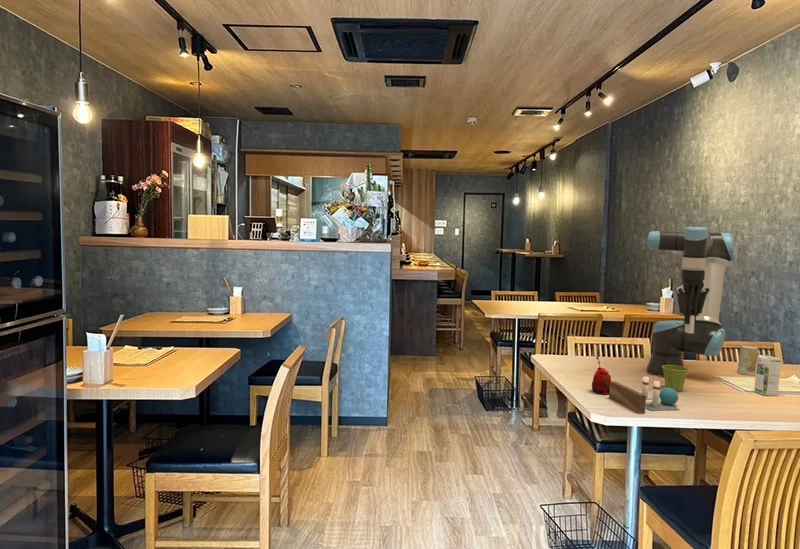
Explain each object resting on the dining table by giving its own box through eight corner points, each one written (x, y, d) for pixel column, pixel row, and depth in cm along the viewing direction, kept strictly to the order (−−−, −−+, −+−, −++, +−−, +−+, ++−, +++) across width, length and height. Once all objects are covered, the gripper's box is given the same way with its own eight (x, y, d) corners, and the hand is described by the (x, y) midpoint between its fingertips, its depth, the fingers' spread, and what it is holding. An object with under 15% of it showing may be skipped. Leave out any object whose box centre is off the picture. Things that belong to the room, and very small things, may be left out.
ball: (656, 385, 197) (654, 402, 198) (668, 390, 192) (666, 407, 192) (671, 385, 199) (669, 402, 199) (683, 390, 193) (681, 407, 193)
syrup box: (753, 391, 218) (756, 355, 217) (767, 391, 218) (770, 355, 217) (764, 395, 212) (767, 358, 211) (778, 396, 213) (781, 358, 212)
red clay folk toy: (611, 396, 204) (613, 355, 203) (591, 393, 206) (593, 353, 205) (611, 391, 211) (613, 351, 210) (591, 388, 213) (593, 349, 212)
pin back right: (645, 401, 199) (646, 376, 198) (648, 403, 197) (650, 377, 196) (639, 401, 198) (641, 376, 198) (643, 403, 196) (645, 377, 196)
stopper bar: (614, 397, 202) (615, 381, 201) (644, 413, 184) (646, 395, 184) (609, 397, 202) (610, 381, 201) (639, 413, 184) (640, 395, 183)
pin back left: (655, 406, 193) (657, 380, 192) (659, 408, 191) (661, 382, 190) (650, 406, 192) (652, 380, 192) (654, 408, 190) (656, 382, 190)
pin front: (659, 398, 194) (636, 399, 192) (661, 404, 193) (638, 405, 191) (656, 400, 195) (633, 400, 194) (657, 406, 194) (634, 406, 193)
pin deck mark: (655, 398, 202) (655, 398, 202) (679, 410, 190) (680, 409, 190) (628, 399, 200) (628, 398, 200) (650, 410, 187) (651, 410, 187)
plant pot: (676, 394, 210) (678, 371, 210) (655, 387, 219) (656, 365, 218) (692, 391, 215) (694, 369, 214) (670, 385, 223) (672, 364, 222)
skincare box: (739, 374, 247) (741, 346, 246) (737, 372, 251) (739, 345, 251) (755, 376, 245) (758, 348, 244) (753, 373, 249) (756, 346, 248)
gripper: (701, 268, 209) (697, 330, 212) (670, 268, 207) (666, 331, 209) (716, 270, 202) (711, 334, 204) (684, 270, 200) (680, 335, 202)
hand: (689, 332), depth 207 cm, fingers closed
